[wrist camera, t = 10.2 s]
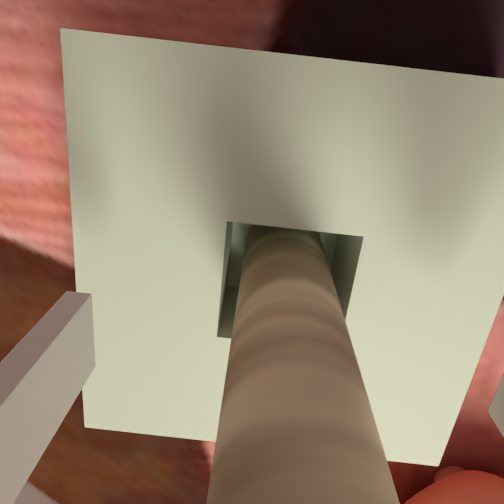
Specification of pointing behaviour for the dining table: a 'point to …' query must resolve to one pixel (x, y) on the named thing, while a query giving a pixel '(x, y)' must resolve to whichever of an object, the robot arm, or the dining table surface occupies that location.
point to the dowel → (294, 387)
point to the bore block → (280, 221)
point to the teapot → (461, 488)
